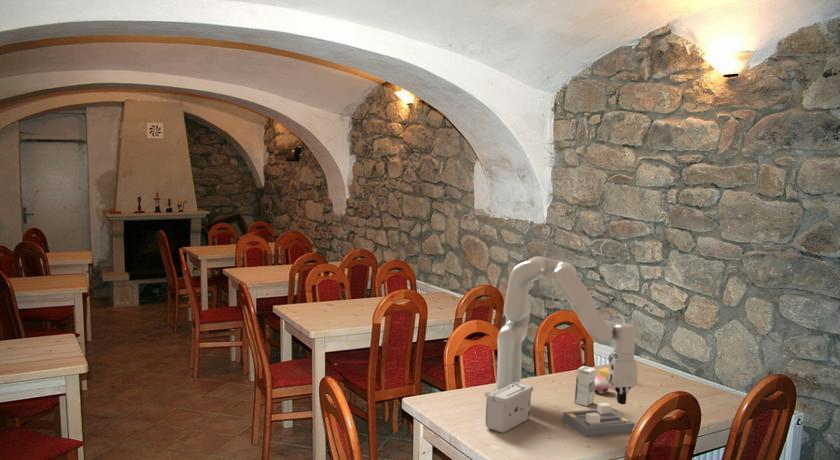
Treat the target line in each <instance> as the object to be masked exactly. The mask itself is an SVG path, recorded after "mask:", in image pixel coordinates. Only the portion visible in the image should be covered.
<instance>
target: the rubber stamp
mask: <svg viewBox="0 0 840 460" xmlns="http://www.w3.org/2000/svg"><path fill="white" fill-rule="evenodd" d="M611 354H613V353H610V354H608V363H609V365H611V361H612V359H613V358H612V357H611ZM609 371H610V367H609V368H608V367H603V368H600V369H598V375H601V376H603V377H605V378H606V379H607V380H608V381H609Z"/></svg>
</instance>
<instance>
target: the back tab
mask: <svg viewBox="0 0 840 460" xmlns="http://www.w3.org/2000/svg"><path fill="white" fill-rule="evenodd" d="M596 409H597V411H598V412H599V413H611V409H612V405H611V404H609V403H608V402H599V403H597V406H596Z"/></svg>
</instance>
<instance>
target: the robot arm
mask: <svg viewBox="0 0 840 460" xmlns="http://www.w3.org/2000/svg"><path fill="white" fill-rule="evenodd" d="M577 272H578V271H577V269H576V267H575V265H573V264H572V263H570V262H567V261H562V260H558V259H553V258H551V257H550V258H549V257H545V256H538V255H537V256H533V257H531V258H529V259H528V260H526V261H523V262H520V263H518V264H517V265H515V266H514V267H513V268H512V270H511V271H510V273H509V277H508V281H507V282H508V283H507V289H506V293H505V299H504V303H503V304H504V305H503V315H504V317H505V323H504V325H503V326H502V327H501V328H500V330H499V331H498V334H497V340H496V343H497V367H496V368H497V369H496V370H497V371H496V387H495V388H494V389H493V390H492V391H487V392H486V391H485V392H484V397H485V398H487V395H488V394H490V393H493V392H495V391H497V390H499V389H502V388H504V387H506V386H508V385H510V384H513V383H515V382H520V383H521V378H522V377H521V376H522V374H521V373H522V343H523V341H524V340H525V339H526V337H527V333H528V330H529V328H528V327H529V322H530V317H531V316H530V315H531V302H530V300H529V299H528V295H529V291H530V283H531V282H533V281H537V280H540V279H541V278H542V279H546V280H550V281H554V282H553V283H555V285H556V286H557V288H558V289H559V291H560V292H561V293H562V295H563V296H564V298H565V299H566V300H567V301H568V303H569V304H570V306H571V307H572V309H573V311H574V313H575V315H576V316H577V318H578V320H579V322H580V323H581V325H582V327H583V328H584V329H585V331H586V332H587V334H588V335H589V336H590V338H591V339H592V340H593V341H594V342H595V343H597V344H598V345H601V346H602V345H603V346H604V345H607V344H609V343H611V341H612V340H613V351H612V352H613V354H611V353H610V354H611V357H612V358H613V359H612V361H611V365H610V364H609V365H610V366H609V369H610V371H609V380H608V381H609V385H610V386H609V390H613V391H615V392H616V402H617V403H618V404H620V405H621V406H623V405H626V404H627V394H629V391H630V390H631V389H634V388H635V387H636V386H637V385H638V365H637V360H636V359H635V347H636V346H635V343H636V342H635V341H636V327H635V326H634V325H633V324H631V323H626V322H614V321H611V320H606V319H603V318H602V317H601V314H600V313H599V312H598V310H597V308H596V306H595V302H594V299H593V296H592V294H591V293H590V291H589V289H588V288H587V287H586V286H585V285H584V283H583V282H582V281H581V279H580V278H579V277H578V275H577V274H578V273H577ZM505 378H506V379H507V380H509V381H511V382H513V383H511V382H509V381H507V380H505Z"/></svg>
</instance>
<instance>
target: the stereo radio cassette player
mask: <svg viewBox="0 0 840 460" xmlns="http://www.w3.org/2000/svg"><path fill="white" fill-rule="evenodd" d="M505 380H507V379H506V378H505ZM507 381H509V380H507ZM509 382H511V381H509ZM511 383H513V382H511ZM533 391H534V385H530V384H528V383H523V382H521V381H520V382H515V383H513V384H510V385H508V386H506V387H504V388H502V389H499V390H497V391H495V392H493V393H490V394H488V395H487V397H486V401H485V402H486V404H485V426H486V428H488V429H489V430H492V431H495V432H499V433H501V434H504V433H506V432H507V431H509V430H511V429H512V428H514V427H516V426H519V425H521V424H522V423H524V422H525V421H527V420H530V416H531V402H532V392H533Z"/></svg>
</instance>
